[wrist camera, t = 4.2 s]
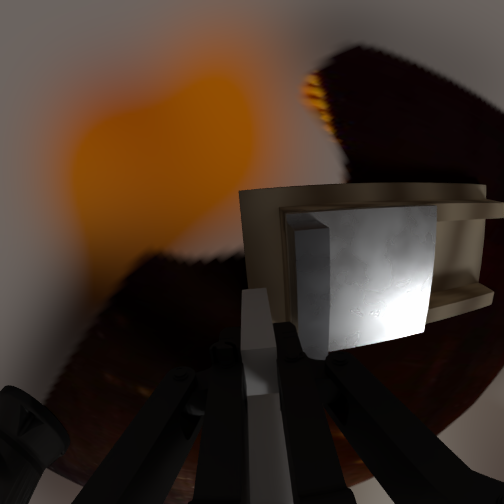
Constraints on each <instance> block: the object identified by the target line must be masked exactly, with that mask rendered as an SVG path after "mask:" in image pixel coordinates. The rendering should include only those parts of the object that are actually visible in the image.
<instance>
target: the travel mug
mask: <svg viewBox="0 0 504 504" xmlns="http://www.w3.org/2000/svg"><path fill="white" fill-rule="evenodd" d="M247 401H248V431H249V474H250V504H293V496H292V488H291V481H290V473H289V466H288V459H287V451H286V444H285V436H284V429H283V422H282V415H281V411H280V400H279V393H273V394H263V395H250V396H247Z"/></svg>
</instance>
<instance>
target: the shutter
mask: <svg viewBox="0 0 504 504" xmlns="http://www.w3.org/2000/svg"><path fill="white" fill-rule="evenodd" d="M436 225H437V206H436V205H432V204H428V205H400V206H378V207H359V208H342V209H327V210H313V211H299V212H287V213H285V228H286V243H287V260H288V279H289V299H290V322H291V323H292V324H294V325H295V327H296V330H297V334H298V337H299V340H300V343H301V347H302V350H303V352H305V353H306V355H307V357H309V358H312V359H316V360H325V358H326V357H327V356H328V352H329V351H335V350H341V349H347V348H352V347H357V346H363V345H368V344H373V343H378V342H382V341H387V340H391V339H396V338H400V337H404V336H408V335H413V334H417V333H420V332H424V327H425V322H426V316H427V311H428V305H429V298H430V291H431V284H432V276H433V267H434V256H435V244H436Z"/></svg>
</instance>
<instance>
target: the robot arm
mask: <svg viewBox="0 0 504 504" xmlns="http://www.w3.org/2000/svg"><path fill="white" fill-rule="evenodd" d="M209 353H210V358H211V362H212V367H210V368H209V369H207V370H204V371H200V372H196V373H195V371H194V370H193V369H192V368H190V367H187V366H181V367H176V368H174V369H172V370H170V371H169V372H168V373H167V374H166V376H165V377H164V378H163V380H162V381H161V382H160V384H159V385H158V386H157V388H156V389H155V391H154V392H153V393H152V395H151V396H150V397H149V399H148V400H147V401H146V403H145V404H144V406H143V407H142V408H141V410H140V411H139V412H138V414H137V415H136V416H135V418H134V419H133V421H132V422H131V423H130V425H129V426H128V427H127V429H126V430H125V431H124V433H123V434H122V436H121V437H120V438H119V440H118V441H117V442H116V444H115V445H114V446H113V448H112V449H111V450H110V452H109V453H108V455H107V456H106V457H105V459H104V460H103V461H102V463H101V464H100V465H99V467H98V468H97V469H96V471H95V472H94V474H93V475H92V476H91V478H90V479H89V480H88V482H87V483H86V484H85V486H84V487H83V489H82V490H81V491H80V493H79V494H78V495H77V497H76V498H75V500H74V501H73V502H72V503H71V504H163V502H164V500H165V499H166V497H167V495H168V493H169V491H170V489H171V487H172V485H173V483H174V481H175V479H176V477H177V475H178V473H179V471H180V469H181V467H182V465H183V463H184V461H185V459H186V457H187V455H188V453H189V451H190V449H191V447H192V445H193V443H194V441H195V439H196V437H197V435H198V433H199V431H200V429H201V427H202V425H203V428H202V435H201V442H200V450H199V457H198V465H197V473H196V480H195V488H194V496H193V499H192V501H190V502H188V504H250V474H249V431H248V401H247V396H250V395H263V394H273V393H279V400H280V411H281V415H282V422H283V429H284V436H285V444H286V451H287V459H288V466H289V473H290V481H291V488H292V496H293V504H357V503H356V500H355V497H354V494H353V492H352V491H351V489H349V488H347V486H346V484H345V480H344V477H343V473H342V470H341V466H340V463H339V459H338V456H337V452H336V449H335V446H334V442H333V439H332V435H331V432H330V429H329V425H328V422H327V419H326V415H325V412H324V409H323V407H324V408H325V409H326V411H327V412H328V414H329V415H330V417H331V418H332V419H333V421H334V422H335V424H336V425H337V426H338V428H339V429H340V431H341V432H342V433H343V435H344V436H345V437H346V439H347V440H348V442H349V443H350V444H351V446H352V447H353V448H354V450H355V451H356V453H357V454H358V455H359V457H360V458H361V459H362V461H363V462H364V463H365V465H366V466H367V467H368V469H369V470H370V471H371V473H372V474H373V475H374V477H375V478H376V479H377V481H378V482H379V483H380V485H381V486H382V487H383V489H384V490H385V491H386V493H387V494H388V495H389V497H390V498H391V499H392V500H393V502H394V503H395V504H504V482H501V481H499V480H496V479H493V478H490V477H488V476H485V475H482V474H480V473H477V472H475V471H473V470H471V469H470V468H469V467H468V466H467V465H466V464H465V463H464V462H463V461H462V460H461V459H459V458H458V457H457V456H456V455H455V454H454V453H453V452H452V451H451V450H450V449H449V448H448V447H447V446H446V445H445V444H444V443H443V442H442V441H441V440H440V439H439V438H438V437H437V436H436V435H435V434H434V433H433V432H431V431H430V430H429V429H428V428H427V427H426V426H425V425H424V424H423V423H422V422H421V421H420V420H419V419H418V418H417V417H416V416H415V415H414V414H413V413H412V412H411V411H410V410H409V409H408V408H407V407H406V406H405V405H404V404H402V403H401V402H400V401H399V400H398V399H397V398H396V397H395V396H394V395H393V394H392V393H391V392H390V391H389V390H388V389H387V388H386V387H385V386H384V385H383V384H382V383H381V382H380V381H379V380H378V379H377V378H376V377H375V376H374V375H373V374H372V373H371V372H369V371H368V370H367V369H366V368H365V367H364V366H363V365H362V364H361V363H360V362H359V361H358V360H357V359H356V358H355V357H354V356H353V355H351V354H350V353H347V352H341V351H338V352H333V353H331V354H329V355H328V356H327V357H326V358H325V360H316V359H312V358H309V357H307V355H306V353H305V352H303V350H302V347H301V343H300V340H299V337H298V334H297V330H296V327H295V325H294V324H292V323H291V322H290V321H289V322H280V323H272V318H271V312H270V306H269V301H268V295H267V289H266V288H256V289H245V290H242V311H241V327H232V328H224V329H223V330H222V331H221V333H220V336H219V342H216V343H214V344H213V345H211V346H210V348H209ZM322 404H323V405H322ZM69 445H70V439H69V436H68V434H67V432H66V430H65V429H64V427H63V426H62V425H61V423H60V422H59V421H58V420H57V419H56V418H55V416H54V415H53V414H52V413H51V412H50V411H49V410H48V409H47V408H45V407H44V406H43V405H42V404H41V403H40V402H38V401H37V400H36V399H35V398H33V397H32V396H30V395H29V394H28V393H26V392H24V391H23V390H21V389H19V388H17V387H14V386H9V385H8V386H5V387H4V388H3V389H2V390H1V391H0V504H28V503H29V501H30V499H31V496H32V494H33V492H34V490H35V488H36V486H37V484H38V482H39V480H40V478H41V476H42V474H43V472H44V470H45V469H46V468H47V467H49V466H50V465H51V464H52V463H53V462H55V461H56V460H57V459H58V457H61V456H63V455H64V454H65V452H66V451H67V449H68V447H69Z"/></svg>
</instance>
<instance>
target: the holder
mask: <svg viewBox="0 0 504 504" xmlns="http://www.w3.org/2000/svg"><path fill="white" fill-rule="evenodd" d="M239 199H240V211H241V221H242V231H243V241H244V251H245V261H246V271H247V281H248V289H256V288H266V289H267V295H268V301H269V306H270V312H271V318H272V323H280V322H289V321H290V299H289V279H288V260H287V243H286V228H285V213H287V212H299V211H313V210H327V209H342V208H359V207H378V206H400V205H428V204H432V205H436V206H437V225H436V244H435V256H434V267H433V276H432V284H431V291H430V298H429V305H428V311H427V316H426V322H425V324H427V323H430V322H434V321H438V320H442V319H445V318H449V317H452V316H456V315H459V314H463V313H466V312H469V311H473V310H476V309H479V308H482V307H485V306H488V305H491V304H492V299H493V295H494V291H492V290H490V289H489V288H487V287H485V286H483V285H482V284H480V283H478V280H479V274H480V267H481V260H482V252H483V242H484V231H485V219H490V218H504V203H502V202H498V201H493V200H488V199H486V185H481V184H461V183H419V182H391V183H348V184H324V185H306V186H290V187H277V188H265V189H254V190H242V191H239Z"/></svg>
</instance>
